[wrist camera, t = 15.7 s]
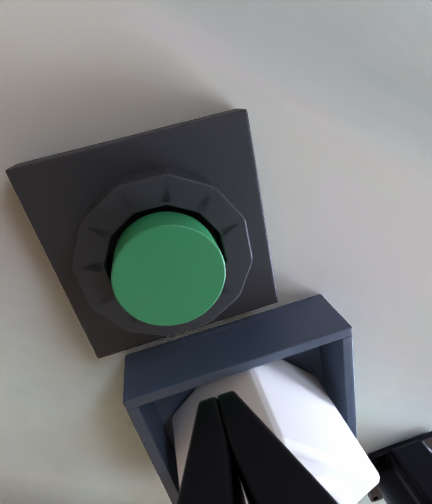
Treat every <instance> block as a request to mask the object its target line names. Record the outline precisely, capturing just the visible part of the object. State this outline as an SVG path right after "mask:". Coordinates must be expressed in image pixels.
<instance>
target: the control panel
mask: <svg viewBox="0 0 432 504" xmlns="http://www.w3.org/2000/svg"><path fill="white" fill-rule="evenodd" d="M6 173H7V175H8V177H9V179H10V181H11V184H12V186H13V188H14V190H15V192H16V194H17V196H18V198H19V200H20V202H21V204H22V206H23V208H24V210H25V212H26V214H27V216H28V218H29V220H30V222H31V224H32V226H33V228H34V230H35V232H36V234H37V236H38V238H39V240H40V242H41V244H42V246H43V248H44V250H45V252H46V254H47V256H48V258H49V260H50V262H51V264H52V266H53V268H54V270H55V272H56V274H57V276H58V278H59V280H60V282H61V284H62V286H63V288H64V290H65V293H66V295H67V297H68V299H69V301H70V303H71V305H72V307H73V309H74V311H75V313H76V315H77V317H78V319H79V321H80V323H81V325H82V327H83V329H84V331H85V333H86V335H87V337H88V339H89V341H90V343H91V345H92V347H93V349H94V351H95V353H96V355H97V357H98V358H101V357H105V356H108V355H111V354H114V353H117V352H121V351H124V350H127V349H130V348H133V347H136V346H140V345H143V344H146V343H149V342H152V341H155V340H159V339H162V338H165V337H168V336H172V335H175V334H179V333H182V332H185V331H188V330H191V329H194V328H198V327H201V326H204V325H207V324H209V323H212V322H216V321H219V320H222V319H225V318H228V317H232V316H235V315H238V314H241V313H244V312H247V311H251V310H254V309H257V308H260V307H263V306H266V305H270V304H273V303H276V302H278V298H277V292H276V286H275V279H274V273H273V267H272V261H271V255H270V249H269V243H268V236H267V230H266V224H265V218H264V212H263V206H262V200H261V193H260V187H259V181H258V175H257V169H256V163H255V157H254V150H253V144H252V138H251V132H250V126H249V120H248V114H247V110H246V109H233V110H229V111H226V112H222V113H218V114H214V115H210V116H206V117H202V118H198V119H194V120H190V121H186V122H182V123H178V124H174V125H170V126H166V127H162V128H158V129H154V130H150V131H146V132H142V133H138V134H134V135H130V136H126V137H122V138H118V139H115V140H111V141H107V142H103V143H99V144H95V145H91V146H87V147H83V148H79V149H75V150H71V151H67V152H63V153H59V154H55V155H51V156H47V157H43V158H39V159H35V160H31V161H27V162H23V163H19V164H16V165H14V166H12V167H10V168H8V169H7V170H6ZM164 211H171V212H179V213H183V214H186V215H189V216H191V217H193V218H195V219H196V220H198V221H199V222H200V223H202V224H203V225H204V226H205V227H206V228H207V229H208V231H209V232H210V234H211V235H212V237H213V239H214V240H215V242H216V244H217V246H218V248H219V249H220V251H221V253H222V255H223V259H224V262H225V268H226V276H225V282H224V286H223V289H222V291H221V294H220V295H219V297H218V299H217V300H216V302H215V303H214V304H213V305H212V306H211V307H210V308H209V309H208V310H207V311H206V312H205V313H204V314H202V315H201V316H199V317H197V318H195V319H193V320H191V321H189V322H186V323H183V324H179V325H173V326H157V325H152V324H148V323H145V322H142V321H140V320H138V319H136V318H134V317H133V316H131V315H130V314H129V313H127V312H126V311H125V310H124V309H123V308H122V307H121V305H120V304H119V302H118V301H117V299H116V297H115V295H114V292H113V289H112V284H111V271H112V264H113V257H114V251H115V247H116V244H117V242H118V240H119V238H120V236H121V235H122V233H123V232H124V231H125V230H126V229H127V227H129V226H130V225H131V224H132V223H133V222H135V221H136V220H138V219H140V218H142V217H144V216H146V215H149V214H152V213H156V212H164Z"/></svg>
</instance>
